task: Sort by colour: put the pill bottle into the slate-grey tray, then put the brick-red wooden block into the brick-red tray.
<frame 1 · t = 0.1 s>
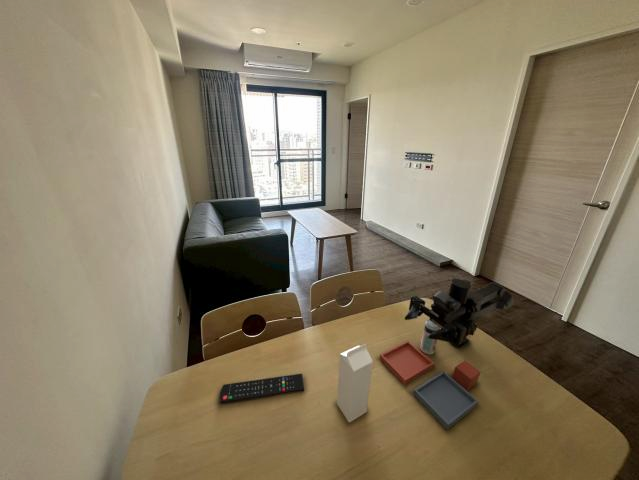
hand: (416, 327, 77), 17 cm above the table, tool horizontal, fingers open, 9 cm apart
grey tray: (444, 399, 73), on the table
milk: (351, 408, 70), on the table
red block: (464, 380, 78), on the table
pill bottle: (426, 350, 90), on the table
remote control: (263, 390, 75), on the table
red tray: (405, 363, 84), on the table
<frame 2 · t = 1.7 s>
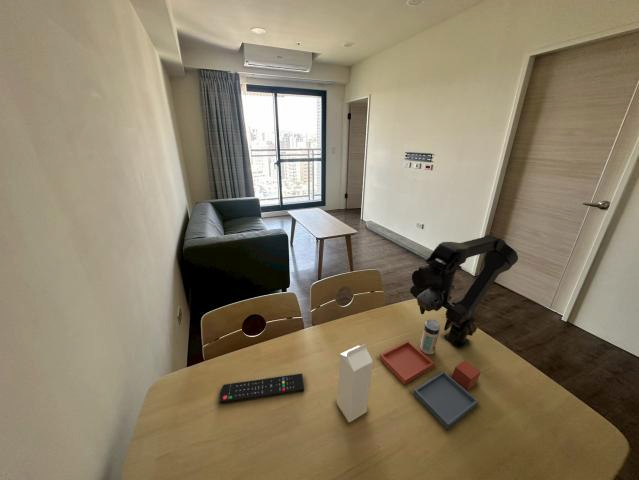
hand: (433, 321, 85), 13 cm above the table, tool pointing down, fingers open, 9 cm apart
nothing on the table moved.
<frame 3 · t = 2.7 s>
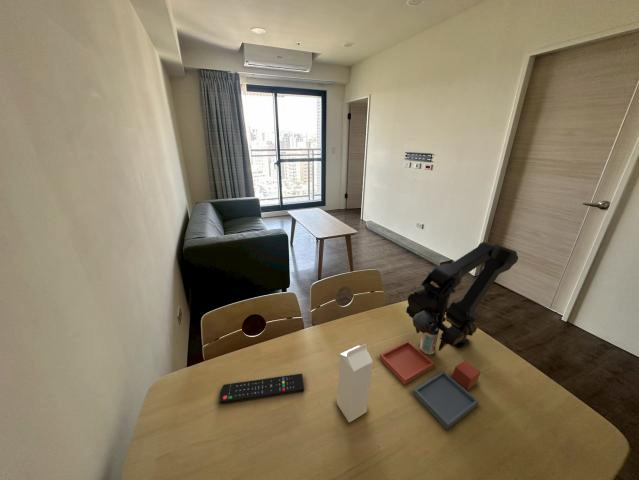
hand: (428, 341, 88), 4 cm above the table, tool pointing down
pill bottle: (426, 350, 90), on the table, touching gripper
everything else where it was.
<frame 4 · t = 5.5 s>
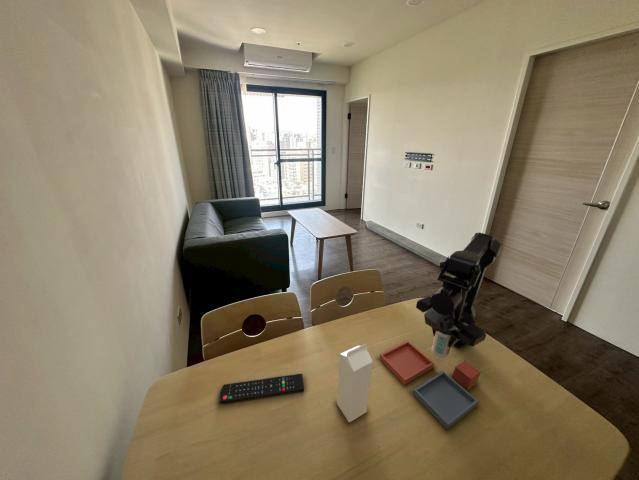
hand: (442, 341, 76), 13 cm above the table, tool pointing down, fingers closed on pill bottle, 5 cm apart
pill bottle: (439, 353, 78), point 8 cm above the table, touching gripper
everything else where it was.
when the fingers open (5 cm above the table, at t = 8.3 s): pill bottle stays where it is, resting on grey tray.
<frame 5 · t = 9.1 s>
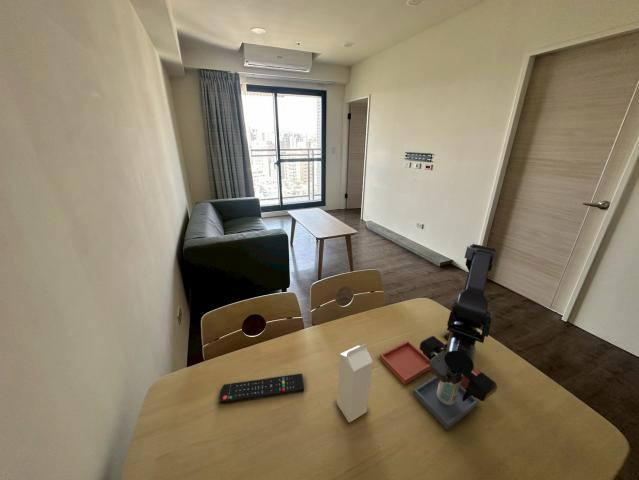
hand: (448, 386, 70), 5 cm above the table, tool pointing down, fingers open, 9 cm apart
pill bottle: (444, 398, 73), resting on grey tray
everything else where it was.
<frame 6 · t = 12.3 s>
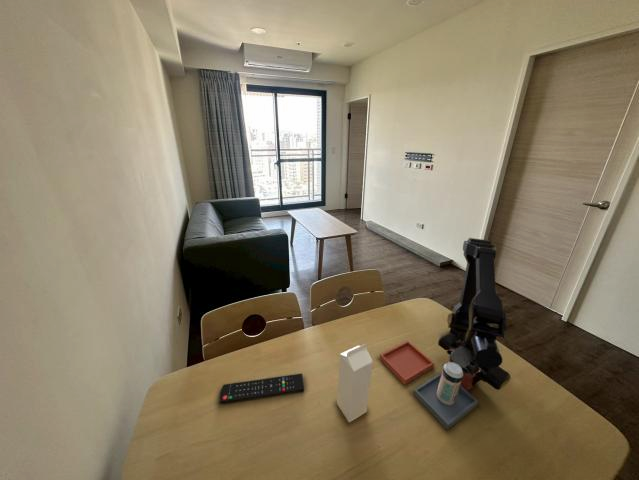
hand: (464, 378, 78), 1 cm above the table, tool pointing down, fingers closed on red block, 5 cm apart
red block: (464, 380, 78), on the table, touching gripper
everything else where it was.
when the fingers open (1 cm above the table, at t = 17.6 s): red block stays where it is, resting on red tray.
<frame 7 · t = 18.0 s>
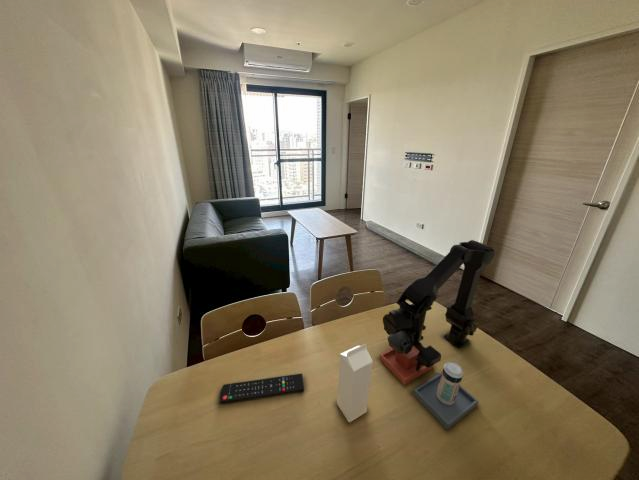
hand: (406, 359, 84), 2 cm above the table, tool pointing down, fingers open, 9 cm apart
red block: (406, 362, 84), resting on red tray
everything else where it was.
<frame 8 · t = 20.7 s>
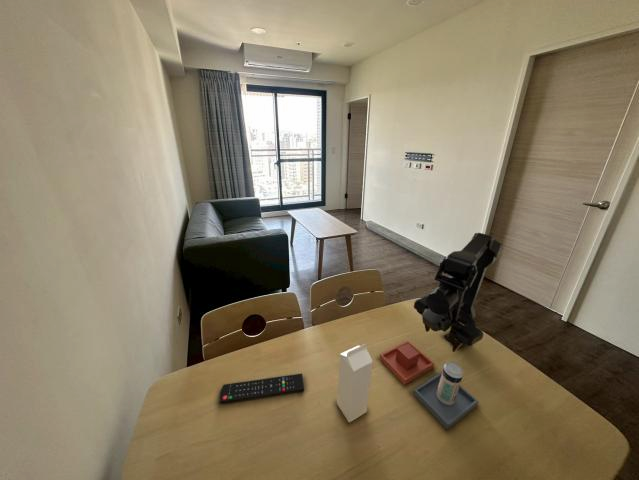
hand: (440, 340, 76), 13 cm above the table, tool pointing down, fingers open, 9 cm apart
nothing on the table moved.
at the end: pill bottle inside the target area in the grey tray (0.3 cm from its centre), point 0.3 cm above the grey tray's base; pill bottle tilted 0°; red block inside the target area in the red tray (0.0 cm from its centre), point 0.5 cm above the red tray's base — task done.
